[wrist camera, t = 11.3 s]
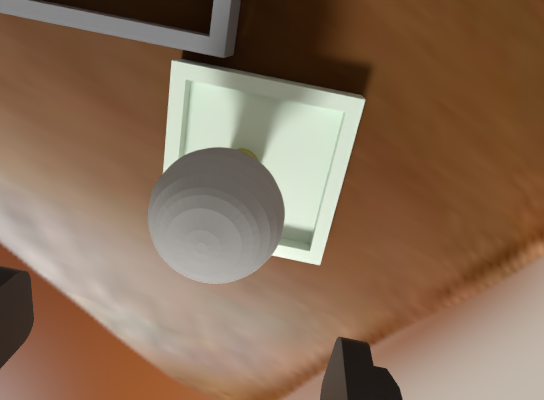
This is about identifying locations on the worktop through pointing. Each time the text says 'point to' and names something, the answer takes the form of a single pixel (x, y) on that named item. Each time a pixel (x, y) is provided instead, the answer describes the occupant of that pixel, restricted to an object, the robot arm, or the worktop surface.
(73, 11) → the case
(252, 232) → the light bulb
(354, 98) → the tray
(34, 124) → the worktop surface
